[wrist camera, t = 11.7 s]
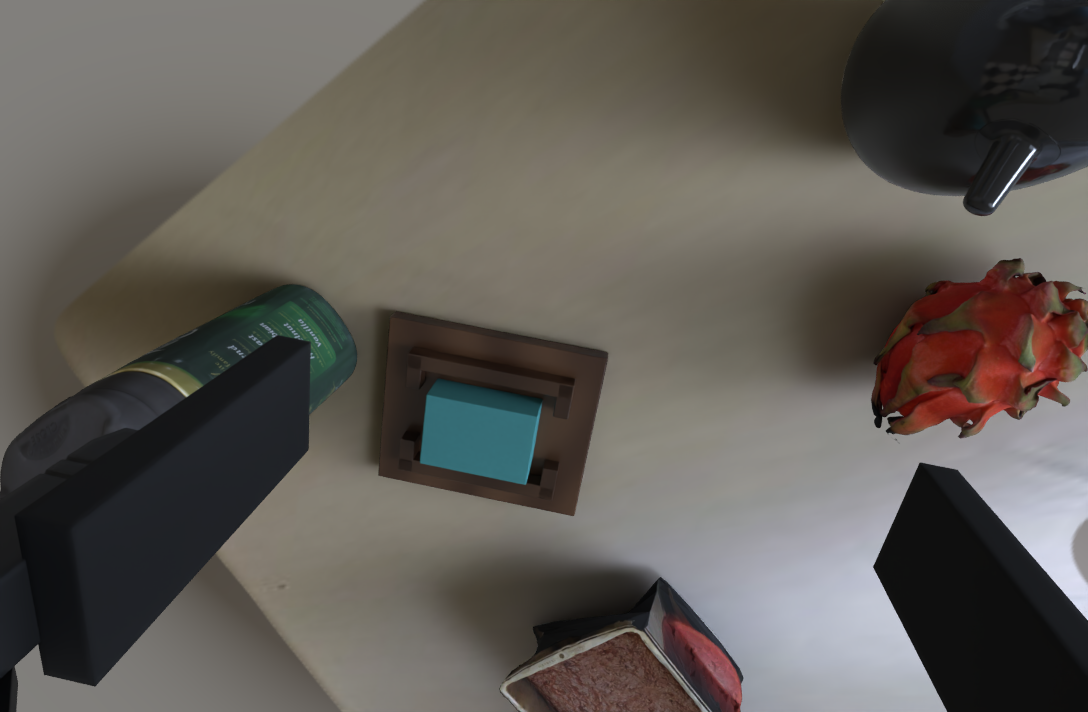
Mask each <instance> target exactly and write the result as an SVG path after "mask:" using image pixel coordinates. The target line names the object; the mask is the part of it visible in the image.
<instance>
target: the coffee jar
mask: <svg viewBox="0 0 1088 712" xmlns="http://www.w3.org/2000/svg"><path fill="white" fill-rule="evenodd" d="M276 335H280V336H285V337H290V338H295V339H300V340H305V341H310V342H311V360H310V405H309V415H310V414H311V413H312V412H313V411H314V410H315V409H316V408H317V407H318V406H319V405H320V404H321V403H323V402H324V401H325V400H326V399H327V398H328V397H329V396H330V395H331V394H332V393H333V392H334V391H335V390H337V389H338V388H339V387H340V386H341V385H342V384H343V383H344V382H345V381H346V380H347V379H348V378H349V377H350V376H351V374H352V373H353V371H354V369H355V366H356V362H357V350H356V346H355V343H354V340H353V338H352V336H351V334H350V332H349V330H348V329H347V327H346V325H345V324H344V323H343V321H342V319H341V318H340V317H339V315H338V314H337V313H336V311H335V310H334V309H333V308H332V307H331V305H330V304H329V303H328V302H327V301H326V300H325V299H324V298H323V297H322V296H320V295H319V294H318V293H316V292H315V291H313V290H312V289H309V288H307V287H305V286H301V285H295V284H289V285H283V286H280V287H277V288H275V289H273V290H271V291H268V292H266V293H264V294H262V295H260V296H258V297H256V298H254V299H252V300H250V301H248V302H246V303H244V304H242V305H240V306H238V307H236V308H234V309H232V310H230V311H229V312H227V313H225V314H223V315H221V316H219V317H217V318H216V319H214V320H212V321H210V322H208V323H206V324H203V325H201V326H199V327H197V328H195V329H193V330H191V331H189V332H187V333H185V334H183V335H181V336H179V337H177V338H175V339H174V340H171V341H170V342H168V343H166V344H164V345H162V346H160V347H158V348H156V349H154V350H153V351H151V352H149V353H147V354H145V355H143V356H141V357H140V358H138V359H136V360H134V361H132V362H130V363H128V364H127V365H125V366H123V367H121V368H120V369H118V370H116V371H114V372H113V373H111V374H109V375H107V376H106V377H104V378H102V379H100V380H98V381H96V382H94V383H93V384H91V385H89V386H87V387H86V388H84V389H82V390H81V391H80V392H78V393H77V394H75V395H74V396H72V397H69V398H68V399H66V400H64V401H62V402H61V403H59V404H58V405H56V406H55V407H54V408H52V409H51V410H49V411H48V412H46V413H45V414H44V415H42V416H41V417H40V418H38V419H37V420H36V421H35V422H33V423H32V424H31V425H30V426H29V427H27V428H26V429H25V430H24V431H23V432H22V433H20V434H19V435H18V436H17V437H16V438H15V439H14V440H13V441H12V442H11V444H10V445H9V447H8V448H7V450H6V452H5V455H4V458H3V462H2V467H1V476H0V478H1V479H0V482H1V491H0V499H1V498H3V497H4V496H6V495H7V494H9V493H10V492H12V491H13V490H15V489H17V488H18V487H20V486H21V485H23V484H24V483H26V482H27V481H29V480H31V479H32V478H34V477H35V476H37V475H38V474H40V473H41V474H44V473H45V471H46V469H48V468H49V467H51V466H52V465H54V464H55V463H57V462H58V461H60V460H62V459H63V460H66V458H67V456H68V455H69V454H71V453H72V452H74V451H76V450H77V449H79V448H80V447H82V446H83V445H85V444H86V443H88V442H89V441H91V440H93V439H95V438H98V437H101V436H104V435H106V434H109V433H112V432H115V431H118V430H120V429H123V428H130V429H135V430H139V429H141V428H142V427H144V426H145V425H147V424H148V423H150V422H151V421H153V420H154V419H155V418H157V417H158V416H160V415H161V414H163V413H164V412H166V411H167V410H169V409H170V408H172V407H173V406H174V405H176V404H177V403H179V402H180V401H182V400H183V399H185V398H186V397H188V396H189V395H190V394H192V393H193V392H195V391H196V390H198V389H199V388H201V387H202V386H204V385H205V384H207V383H208V382H209V381H211V380H212V379H214V378H215V377H217V376H218V375H220V374H221V373H223V372H224V371H225V370H227V369H228V368H230V367H231V366H233V365H234V364H236V363H237V362H239V361H240V360H241V359H243V358H244V357H246V356H247V355H249V354H250V353H252V352H253V351H255V350H256V349H258V348H259V347H260V346H262V345H263V344H265V343H266V342H268V341H269V340H271V339H272V338H274V337H275V336H276Z"/></svg>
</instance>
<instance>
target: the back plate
mask: <svg viewBox="0 0 1088 712" xmlns="http://www.w3.org/2000/svg"><path fill="white" fill-rule="evenodd" d="M607 360H608V353H607V352H603V351H597V350H592V349H587V348H582V347H577V346H572V345H567V344H561V343H556V342H551V341H546V340H541V339H536V338H530V337H525V336H520V335H515V334H510V333H505V332H500V331H494V330H489V329H484V328H479V327H474V326H469V325H463V324H458V323H453V322H448V321H443V320H438V319H433V318H427V317H422V316H417V315H412V314H407V313H402V312H395V313H394V314H393V315H391V316H390V321H389V335H388V349H387V363H386V377H385V391H384V405H383V419H382V433H381V447H380V461H379V476H383V477H388V478H393V479H397V480H402V481H407V482H412V483H417V484H421V485H426V486H431V487H436V488H441V489H445V490H450V491H455V492H460V493H465V494H469V495H474V496H479V497H484V498H489V499H494V500H498V501H503V502H508V503H513V504H518V505H522V506H527V507H532V508H537V509H542V510H546V511H551V512H556V513H561V514H566V515H570V516H574V514H575V510H576V505H577V500H578V496H579V491H580V486H581V482H582V477H583V472H584V468H585V463H586V458H587V454H588V449H589V444H590V440H591V435H592V430H593V426H594V421H595V416H596V412H597V407H598V402H599V398H600V393H601V388H602V384H603V379H604V374H605V370H606V365H607ZM438 378H439V379H444V380H449V381H454V382H459V383H464V384H469V385H474V386H479V387H484V388H489V389H494V390H499V391H504V392H509V393H514V394H519V395H524V396H529V397H534V398H539V399H542V400H543V402H542V408H541V413H540V419H539V424H538V430H537V436H536V441H535V447H534V453H533V458H532V464H531V468H530V471H529V475H528V479H527V483H526V485H523V484H518V483H513V482H509V481H504V480H499V479H494V478H489V477H484V476H479V475H475V474H470V473H465V472H460V471H455V470H450V469H446V468H441V467H436V466H431V465H426V464H421V463H420V453H421V443H422V433H423V423H424V413H425V403H426V395H427V393H428V392H429V390H430V389H431V387H432V386H433V385H434V383H435V382H436V380H437V379H438Z"/></svg>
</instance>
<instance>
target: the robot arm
mask: <svg viewBox="0 0 1088 712" xmlns="http://www.w3.org/2000/svg"><path fill="white" fill-rule="evenodd" d="M310 360H311V342H310V341H305V340H300V339H295V338H290V337H285V336H280V335H276V336H275V337H274V338H272V339H271V340H269V341H268V342H266V343H265V344H263V345H262V346H260V347H259V348H258V349H256V350H255V351H253V352H252V353H250V354H249V355H247V356H246V357H244V358H243V359H241V360H240V361H239V362H237V363H236V364H234V365H233V366H231V367H230V368H228V369H227V370H225V371H224V372H223V373H221V374H220V375H218V376H217V377H215V378H214V379H212V380H211V381H209V382H208V383H207V384H205V385H204V386H202V387H201V388H199V389H198V390H196V391H195V392H193V393H192V394H190V395H189V396H188V397H186V398H185V399H183V400H182V401H180V402H179V403H177V404H176V405H174V406H173V407H172V408H170V409H169V410H167V411H166V412H164V413H163V414H161V415H160V416H158V417H157V418H155V419H154V420H153V421H151V422H150V423H148V424H147V425H145V426H144V427H142V428H141V429H139V430H135V429H130V428H123V429H120V430H118V431H115V432H112V433H109V434H106V435H104V436H101V437H98V438H95V439H93V440H91V441H89V442H88V443H86V444H85V445H83V446H82V447H80V448H79V449H77V450H76V451H74V452H72V453H71V454H69V455H68V456H67V458H66V460H63V459H62V460H60V461H58V462H57V463H55V464H54V465H52V466H51V467H49V468H48V469H46V471H45V473H44V474H41V473H40V474H38V475H37V476H35V477H34V478H32V479H31V480H29V481H27V482H26V483H24V484H23V485H21V486H20V487H18V488H17V489H15V490H13V491H12V492H10V493H9V494H7V495H6V496H4V497H3V498H1V499H0V712H16V705H17V690H18V680H17V676H16V671H15V665H16V664H17V663H18V662H19V661H20V660H21V659H22V658H24V657H25V656H26V655H27V654H28V653H29V652H30V651H31V650H32V649H33V648H34V647H35V646H36V645H39V650H40V656H41V661H42V666H43V672H44V675H48V676H52V677H57V678H61V679H66V680H70V681H74V682H78V683H83V684H87V685H91V686H96V685H97V684H98V683H99V682H100V680H102V678H103V677H104V676H105V675H106V674H107V673H108V672H109V671H110V670H111V668H112V667H113V666H114V665H115V664H116V663H117V662H118V661H119V659H120V658H121V657H122V656H123V655H124V654H125V653H126V652H127V651H128V649H129V648H130V647H131V646H132V645H133V644H134V643H135V642H136V641H137V640H138V638H139V637H140V636H141V635H142V634H143V633H144V632H145V630H147V628H148V627H149V626H150V625H151V624H152V623H153V622H154V621H155V619H157V617H158V616H159V615H160V614H161V613H162V612H163V611H164V610H165V609H166V607H167V606H168V605H169V604H170V603H171V602H172V601H173V599H174V598H175V597H176V596H177V595H178V594H179V593H180V592H181V591H182V590H183V588H184V587H185V586H186V585H187V584H188V583H189V582H190V581H191V579H193V577H194V576H195V575H196V574H197V573H198V572H199V571H200V570H201V568H202V567H203V566H204V565H205V564H206V563H207V562H208V561H209V560H210V558H211V557H212V556H213V555H214V554H215V553H216V552H217V551H218V550H219V549H220V548H221V546H222V545H223V544H224V543H225V542H226V541H227V540H228V539H229V538H230V536H231V535H232V534H233V533H234V532H235V531H236V530H237V529H238V528H239V526H240V525H241V524H242V523H243V522H244V521H245V520H246V519H247V518H248V516H249V515H250V514H251V513H252V512H253V511H254V510H255V509H256V508H257V506H258V505H259V504H260V503H261V502H262V501H263V500H264V499H265V498H266V496H267V495H268V494H269V493H270V492H271V491H272V490H273V489H274V488H275V486H276V485H277V484H278V483H279V482H280V481H281V480H282V479H283V478H284V476H285V475H286V474H287V473H288V472H289V471H290V470H291V469H292V468H293V467H294V465H295V464H296V463H297V462H298V461H299V460H300V459H301V458H302V457H303V455H304V454H305V453H306V452H307V451H308V449H309V405H310ZM873 568H874V570H875V572H876V573H877V575H878V577H879V579H880V581H881V583H882V585H883V587H884V589H885V591H886V593H887V595H888V597H889V599H890V601H891V603H892V605H893V607H894V609H895V611H896V613H897V615H898V616H899V618H900V620H901V622H902V624H903V626H904V628H905V630H906V632H907V634H908V636H909V638H910V640H911V642H912V644H913V646H914V648H915V650H916V652H917V654H918V656H919V658H920V659H921V661H922V663H923V665H924V667H925V669H926V671H927V673H928V675H929V677H930V679H931V681H932V683H933V685H934V687H935V689H936V691H937V693H938V695H939V697H940V699H941V700H942V702H943V704H944V706H945V708H946V710H947V712H1088V620H1087V619H1086V618H1085V617H1084V616H1083V615H1082V613H1081V612H1080V611H1079V610H1078V609H1077V608H1076V606H1075V605H1074V604H1073V603H1072V602H1071V601H1070V599H1069V598H1068V597H1067V596H1066V595H1065V594H1064V593H1063V591H1062V590H1061V589H1060V588H1059V587H1058V586H1057V584H1056V583H1055V582H1054V581H1053V580H1052V579H1051V578H1050V576H1049V575H1048V574H1047V573H1046V572H1045V571H1044V569H1043V568H1042V567H1041V566H1040V565H1039V564H1038V563H1037V561H1036V560H1035V559H1034V558H1033V557H1032V556H1031V554H1030V553H1029V552H1028V551H1027V550H1026V549H1025V548H1024V546H1023V545H1022V544H1021V543H1020V542H1019V541H1018V539H1017V538H1016V537H1015V536H1014V535H1013V534H1012V533H1011V531H1010V530H1009V529H1008V528H1007V527H1006V526H1005V524H1004V523H1003V522H1002V521H1001V520H1000V519H999V518H998V516H997V515H996V514H995V513H994V512H993V511H992V509H991V508H990V507H989V506H988V505H987V504H986V503H985V501H984V500H983V499H982V498H981V497H980V496H979V494H978V493H977V492H976V491H975V490H974V489H973V488H972V486H971V485H970V484H969V483H968V482H967V481H966V479H965V478H964V477H963V476H962V475H961V474H960V472H959V471H958V470H955V469H950V468H945V467H940V466H935V465H930V464H925V463H919V466H918V468H917V470H916V472H915V475H914V477H913V479H912V481H911V484H910V486H909V488H908V490H907V492H906V495H905V497H904V499H903V501H902V504H901V506H900V508H899V510H898V513H897V515H896V517H895V519H894V522H893V524H892V526H891V528H890V531H889V533H888V535H887V537H886V539H885V542H884V544H883V546H882V548H881V551H880V553H879V555H878V557H877V560H876V562H875V564H874V566H873Z"/></svg>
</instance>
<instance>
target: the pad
mask: <svg viewBox="0 0 1088 712" xmlns="http://www.w3.org/2000/svg"><path fill="white" fill-rule="evenodd" d="M542 402H543V400H542V399H539V398H534V397H529V396H524V395H519V394H514V393H509V392H504V391H499V390H494V389H489V388H484V387H479V386H474V385H469V384H464V383H459V382H454V381H449V380H444V379H439V378H438V379H437V380H436V382H435V383H434V385H433V386H432V387H431V389H430V390H429V392H428V393H427V395H426V403H425V413H424V423H423V433H422V443H421V453H420V463H421V464H426V465H431V466H436V467H441V468H446V469H450V470H455V471H460V472H465V473H470V474H475V475H479V476H484V477H489V478H494V479H499V480H504V481H509V482H513V483H518V484H523V485H526V483H527V479H528V475H529V471H530V468H531V464H532V458H533V453H534V447H535V441H536V436H537V430H538V424H539V419H540V413H541V408H542Z"/></svg>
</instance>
